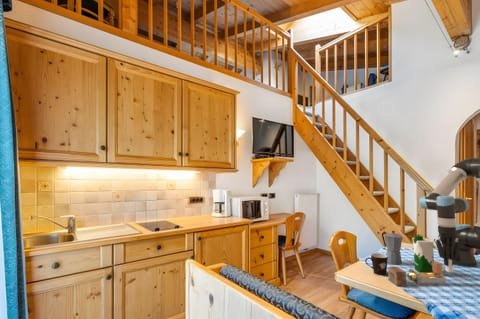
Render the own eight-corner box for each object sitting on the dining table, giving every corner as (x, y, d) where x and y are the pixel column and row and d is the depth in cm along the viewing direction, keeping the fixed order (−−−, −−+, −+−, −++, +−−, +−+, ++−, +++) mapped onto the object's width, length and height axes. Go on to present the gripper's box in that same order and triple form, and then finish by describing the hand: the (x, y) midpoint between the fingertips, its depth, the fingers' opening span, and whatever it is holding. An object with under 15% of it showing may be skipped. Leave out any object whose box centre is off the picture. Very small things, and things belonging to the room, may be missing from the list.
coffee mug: (388, 271, 156) (387, 253, 156) (389, 277, 148) (388, 258, 148) (365, 268, 161) (365, 251, 161) (365, 274, 153) (364, 256, 153)
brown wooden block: (398, 279, 144) (397, 266, 144) (406, 285, 137) (405, 271, 137) (388, 280, 144) (388, 266, 144) (396, 286, 137) (396, 271, 137)
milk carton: (412, 268, 160) (410, 234, 160) (429, 269, 158) (427, 234, 159) (419, 274, 151) (417, 237, 152) (437, 275, 149) (435, 238, 150)
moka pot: (399, 267, 161) (397, 233, 162) (376, 260, 176) (375, 228, 176) (409, 265, 165) (408, 231, 166) (387, 257, 179) (385, 227, 180)
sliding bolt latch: (436, 279, 144) (435, 267, 144) (445, 284, 137) (445, 272, 137) (409, 279, 144) (409, 268, 144) (418, 285, 137) (417, 273, 137)
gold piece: (438, 278, 142) (437, 261, 143) (443, 280, 139) (442, 263, 139) (407, 278, 142) (406, 262, 143) (412, 281, 139) (411, 264, 139)
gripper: (453, 224, 145) (455, 268, 144) (429, 224, 145) (431, 269, 144) (465, 227, 138) (467, 274, 137) (439, 227, 138) (441, 274, 137)
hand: (449, 271), depth 141 cm, fingers closed
